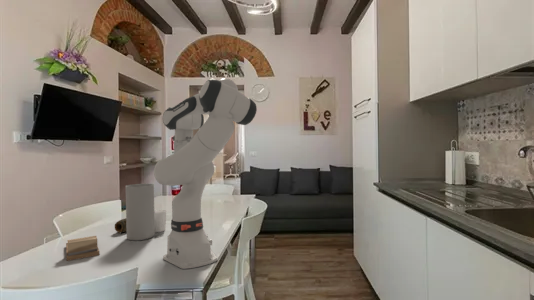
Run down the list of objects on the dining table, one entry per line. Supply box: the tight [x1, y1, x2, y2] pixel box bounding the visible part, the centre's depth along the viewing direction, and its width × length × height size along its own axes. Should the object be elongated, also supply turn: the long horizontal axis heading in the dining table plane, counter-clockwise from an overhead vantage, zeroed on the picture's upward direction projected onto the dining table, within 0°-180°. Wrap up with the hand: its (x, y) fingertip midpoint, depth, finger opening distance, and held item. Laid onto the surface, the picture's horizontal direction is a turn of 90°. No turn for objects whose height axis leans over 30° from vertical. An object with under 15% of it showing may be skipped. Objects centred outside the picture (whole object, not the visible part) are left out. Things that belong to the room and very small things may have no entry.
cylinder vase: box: [125, 183, 156, 241], centre depth 146 cm, size 12×12×25 cm
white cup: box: [154, 209, 167, 233], centre depth 157 cm, size 8×8×10 cm
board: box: [65, 242, 100, 262], centre depth 127 cm, size 21×11×2 cm, turn 34°
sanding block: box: [67, 235, 99, 256], centre depth 122 cm, size 5×10×5 cm, turn 124°
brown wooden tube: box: [114, 217, 127, 234], centre depth 160 cm, size 15×7×7 cm, turn 171°
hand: (184, 164), depth 151 cm, fingers open, 8 cm apart
